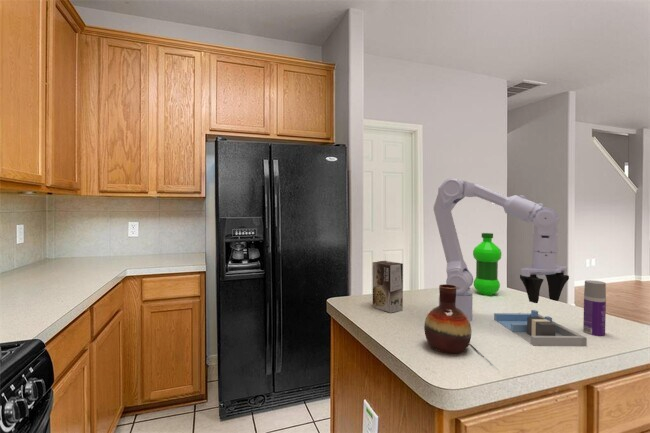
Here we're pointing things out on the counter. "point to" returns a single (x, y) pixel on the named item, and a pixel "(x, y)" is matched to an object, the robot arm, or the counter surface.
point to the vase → (447, 324)
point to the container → (594, 308)
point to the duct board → (519, 327)
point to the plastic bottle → (487, 266)
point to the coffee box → (387, 286)
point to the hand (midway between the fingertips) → (543, 301)
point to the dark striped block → (540, 327)
